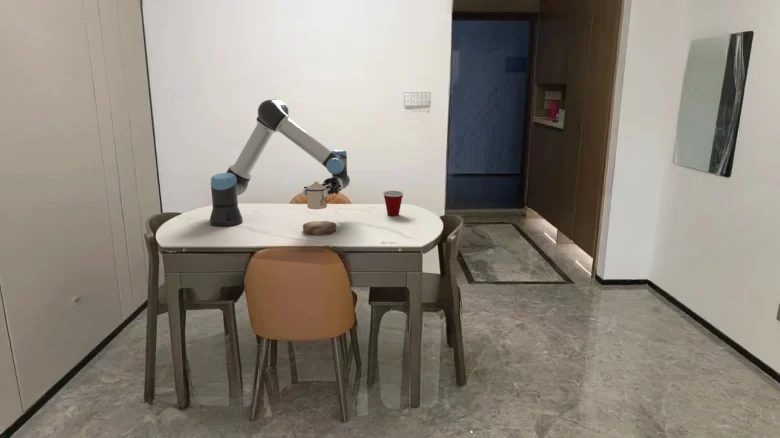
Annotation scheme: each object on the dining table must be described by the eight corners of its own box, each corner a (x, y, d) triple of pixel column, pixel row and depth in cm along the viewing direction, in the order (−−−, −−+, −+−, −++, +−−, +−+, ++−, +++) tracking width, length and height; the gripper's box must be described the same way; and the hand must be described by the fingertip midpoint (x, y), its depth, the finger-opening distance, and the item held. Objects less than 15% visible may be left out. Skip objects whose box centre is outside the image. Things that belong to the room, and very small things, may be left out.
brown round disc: (297, 234, 241) (297, 227, 241) (311, 226, 256) (311, 220, 255) (328, 236, 238) (328, 229, 237) (341, 228, 252) (340, 222, 251)
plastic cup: (382, 217, 273) (382, 194, 271) (382, 213, 284) (382, 190, 281) (404, 217, 274) (404, 194, 271) (403, 212, 284) (403, 190, 281)
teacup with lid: (324, 209, 238) (323, 183, 235) (304, 209, 239) (303, 183, 236) (330, 204, 249) (330, 179, 247) (311, 203, 251) (310, 178, 248)
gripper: (354, 193, 258) (337, 202, 236) (311, 191, 263) (291, 200, 242) (353, 178, 256) (336, 186, 235) (311, 176, 261) (291, 183, 240)
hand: (313, 193), depth 238 cm, fingers closed on teacup with lid, 9 cm apart
